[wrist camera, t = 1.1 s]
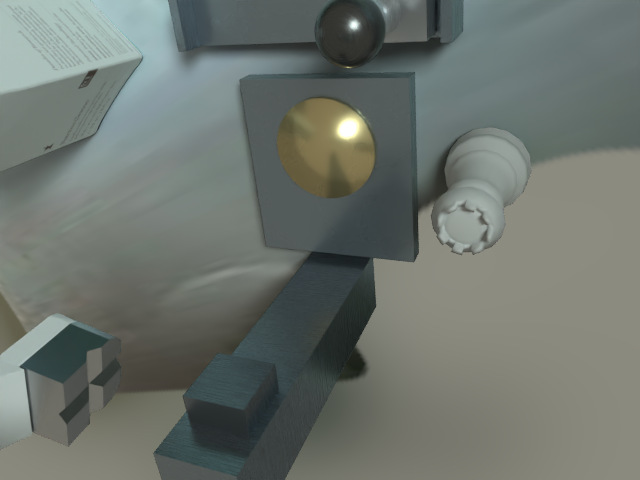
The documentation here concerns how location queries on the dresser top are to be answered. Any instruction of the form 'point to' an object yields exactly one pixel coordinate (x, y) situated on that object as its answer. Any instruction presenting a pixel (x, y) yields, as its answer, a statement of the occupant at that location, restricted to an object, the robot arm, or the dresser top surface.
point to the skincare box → (56, 74)
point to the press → (302, 236)
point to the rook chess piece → (480, 189)
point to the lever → (370, 27)
